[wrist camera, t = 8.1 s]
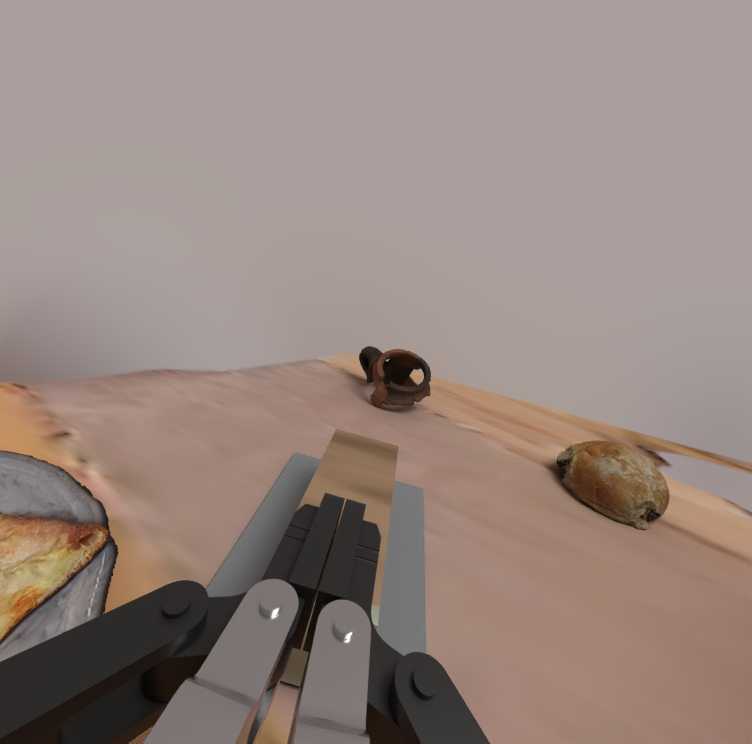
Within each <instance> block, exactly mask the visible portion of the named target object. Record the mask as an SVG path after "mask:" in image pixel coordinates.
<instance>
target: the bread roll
mask: <svg viewBox="0 0 752 744" xmlns="http://www.w3.org/2000/svg"><path fill="white" fill-rule="evenodd" d="M557 458H558V459H557V462H556V463H557V465H558V467H559V468H560V470H559V471H558V473H559V476H560V479H561V480H562V482H563V484H564V485H565V486H566V487H567V488H568V489H569V490H570V491H571V492H572V493H573V494H574V496H575V497H576V498H577V499H579V500H580V501H582V502H584V503H586V504H588V505H589V506H591V507H592V508H594V509H595V510H596V511H598V512H600V513H602V514H603V515H605V516H607V517H609V518H611V519H613V520H616V521H618V522H621V523H624V524H630V525H632V526H634V527H635V528H636V529H647V528H650V527H649V524H651V523H652V522H654V521H655V520H656V519H659V518H660V516H662V515H663V513H664V512H665V510H666V508H667V506H668V503H669V490H668V486H667V484H666V481H665V478H664V477H663V475H662V474H661V472H660V471H659V470H658V469H656V467H655V466H654V465H655V464H654V462H653V461H652V460H651V459H650V458H648V457H644V456H642V455H641V454H640V453H639V452H637V451H635V450H633V449H631V448H630V447H627V446H625V445H622V444H619V443H613V442H607V441H589V442H583V443H581V444H575V445H570V447H569V448H568V449H566V451H562V452H561V453H560V454H559V456H558V457H557Z"/></svg>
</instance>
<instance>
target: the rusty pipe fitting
mask: <svg viewBox="0 0 752 744" xmlns="http://www.w3.org/2000/svg"><path fill="white" fill-rule="evenodd" d="M387 359H390V360H389V361H388V362H387V361H386V360H387ZM359 360H360V363H361V366H362V368H363V370H364V372H365V373H366V375H367V383H371V382H374V384H375V386H376V389H375V390H374V392H373V394H372V395H371V399H370V400H371V401H372V403H373V404H374V405H375V406H376V407H379V406H381V405H382V404H383V403H384V404H385V405H412V404H414V401H416V402H419V401H421V400H422V399H423V398H424V397H426V396H430V386H429V382H430V381H431V379H430V377H431V372H430V368H429V366H428V365H427V363H426V362H425V361H424V360H423V359H422V358H420V357H419V356H418V355H416V354H414V353H412V352H410V351H406V350H401V349H395V350H390V351H387V352H385V353H382V352H381V351H380V350H378V349H377V348H374V347H370V346H368V347H365V348H364V349H363V350H362V351H361V353H360V355H359ZM420 368H421V369H422V371H423V373H424V380H423V382H422V383H420V384H419V385H417V384H416V383H415V382H414V381H413V379H412V378H411V377H410V376H409V375H410V374H411V372H412V371H413V370H414V369H416V370H418V369H420ZM387 384H389V388H388V387H387V386H386V385H387Z"/></svg>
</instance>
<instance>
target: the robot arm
mask: <svg viewBox="0 0 752 744" xmlns="http://www.w3.org/2000/svg"><path fill="white" fill-rule="evenodd" d="M344 500H345V498H342V497H339V496H335V495H332V494H329V493H325V494H324V496H323V499H322V501H321V504H320V506H319V507H317V506H313V505H310V504H305V505H303V506H302V507H301V508H300V509H298V510H297V511H296V512H295V513H294V515H293V517H292V519H291V521H290V523H289V526H288V527H287V529H286V531H285V533H284V536H283V537H282V539H281V541H280V543H279V545H278V547H277V549H276V551H275V553H274V555H273V557H272V559H271V561H270V563H269V565H268V567H267V569H266V571H265V573H264V575H263V577H262V579H261V580H260V581H259V583H257V584H255V585H254V586H253V587H252V588H251V589H250V590H248V591H247V592H245V593H242V594H239V595H235V596H226V597H209V596H208V593H207V591H206V589H205V588H204V587H203V586H202V585H201V584H199V583H197V582H194V581H189V580H183V581H177V582H173V583H170V584H168V585H165V586H163V587H161V588H159V589H157V590H155V591H152V592H150V593H148V594H146V595H144V596H142V597H139V598H137V599H135V600H133V601H131V602H129V603H126V604H124V605H122V606H120V607H118V608H116V609H113V610H111V611H109V612H107V613H105V614H103V615H100V616H98V617H96V618H94V619H92V620H90V621H87V622H85V623H83V624H81V625H79V626H77V627H74V628H72V629H70V630H68V631H66V632H64V633H61V634H59V635H57V636H55V637H53V638H51V639H48V640H46V641H44V642H42V643H40V644H38V645H35V646H33V647H31V648H29V649H27V650H25V651H22V652H20V653H18V654H16V655H14V656H12V657H9V658H7V659H5V660H3V661H1V662H0V744H127V743H129V742H130V741H132V740H133V739H135V738H136V737H137V736H139V735H140V734H142V733H143V732H144V731H146V730H147V729H149V728H150V727H152V726H153V725H154V724H155V726H154V727H153V729H152V730H151V732H150V733H149V735H148V736H147V738H146V740H145V741H144V743H143V744H255V743H256V740H257V738H258V735H259V733H260V730H261V728H262V725H263V723H264V720H265V718H266V715H267V713H268V711H269V708H270V706H271V703H272V701H273V698H274V696H275V693H276V691H277V688H278V686H279V683H280V680H281V677H282V676H283V674H284V672H285V670H286V667H287V664H288V661H289V658H290V655H291V652H292V649H293V648H296V649H299V650H300V649H301V646H302V642H303V639H304V636H305V633H306V630H307V626H308V623H309V620H310V617H311V620H310V624H309V628H308V632H307V635H306V639H305V643H304V647H303V651H306V652H309V654H308V657H307V661H306V665H305V668H304V672H303V676H302V680H301V683H300V687H299V691H298V696H297V701H296V705H295V710H294V714H293V719H292V724H291V728H290V733H289V737H288V742H287V744H490V743H489V741H488V739H487V738H486V736H485V734H484V733H483V731H482V730H481V728H480V726H479V725H478V723H477V721H476V720H475V718H474V716H473V715H472V713H471V712H470V710H469V708H468V707H467V705H466V703H465V702H464V700H463V699H462V697H461V695H460V694H459V692H458V690H457V689H456V687H455V686H454V684H453V682H452V681H451V679H450V677H449V676H448V674H447V672H446V671H445V669H444V668H443V667H442V665H441V664H440V663H439V662H438V661H437V660H436V659H434V658H433V657H431V656H430V655H428V654H425V653H422V652H411V653H409V654H406V655H405V656H403V655H402V654H400V653H399V652H398V651H396V650H395V649H393V648H392V647H391V646H389V645H388V644H387V643H386V642H385V641H384V640H383V639H382V638H381V637H380V636H379V634H378V633H377V631H376V629H375V627H374V624H373V621H372V617H371V607H372V600H373V593H374V586H375V578H376V571H377V563H378V557H379V550H380V543H381V535H380V532H379V529H378V526H377V524H375V523H372V522H368V521H365V520H363V517H364V513H365V508H366V504H363V503H360V502H356V501H353V500H349V499H346V502H345V505H344V509H343V512H342V508H343V504H344ZM341 512H342V515H341ZM340 516H341V518H340ZM339 519H340V522H339ZM338 523H339V525H338ZM337 527H338V528H337ZM335 534H336V535H335ZM315 600H316V601H315ZM314 604H315V605H314ZM313 607H314V609H313ZM312 610H313V612H312ZM311 613H312V616H311Z"/></svg>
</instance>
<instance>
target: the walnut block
mask: <svg viewBox="0 0 752 744" xmlns="http://www.w3.org/2000/svg"><path fill="white" fill-rule="evenodd" d="M397 453H398V446H395V445H392V444H388V443H385V442H381V441H377V440H374V439H370V438H367V437H363V436H360V435H356V434H353V433H349V432H345V431H342V430H338V429H336V431H335V433H334V435H333V437H332V439H331V441H330V443H329V445H328V447H327V450H326V452H325V454H324V456H323V458H322V460H321V462H320V464H319V466H318V468H317V470H316V472H315V474H314V476H313V478H312V480H311V482H310V484H309V486H308V488H307V490H306V492H305V494H304V496H303V498H302V500H301V502H300V504H299V506H298V508H297V510H298V509H300V508H301V507H302V506H303V505H305V504H310V505H313V506H317V507H319V506H320V504H321V501H322V499H323V496H324V494H325V493H329V494H332V495H335V496H339V497H342V498H345V500H344V504H343V508H342V512H343V509H344V505H345V502H346V499H349V500H353V501H356V502H360V503H363V504H366V508H365V513H364V517H363V520H365V521H368V522H372V523H375V524H377V526H378V529H379V532H380V535H381V543H380V550H379V557H378V563H377V571H376V578H375V586H374V593H373V600H372V607H371V617H372V621H373V624H374V627H375V629H377V627H378V619H379V611H380V602H381V593H382V584H383V576H384V567H385V558H386V549H387V540H388V532H389V523H390V514H391V505H392V497H393V488H394V479H395V470H396V462H397ZM297 510H296V511H297ZM342 512H341V515H342ZM340 518H341V516H340ZM339 522H340V519H339ZM338 525H339V523H338ZM337 528H338V527H337ZM335 535H336V534H335ZM315 601H316V600H315ZM314 605H315V604H314ZM313 609H314V607H313ZM312 612H313V610H312ZM311 616H312V613H311ZM310 620H311V617H310ZM310 620H309V623H308V626H307V630H306V633H305V636H304V639H303V642H302V646H301V649H300V650H299V649H296V648H293V649H292V652H291V655H290V658H289V661H288V664H287V667H286V670H285V672H284V674H283V676H282V677H281V680H280V681H283V682H287V683H290V684H293V685H296V686H300V683H301V680H302V676H303V672H304V668H305V665H306V661H307V657H308V654H309V652H306V651H303V647H304V643H305V639H306V635H307V632H308V628H309V624H310Z"/></svg>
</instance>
